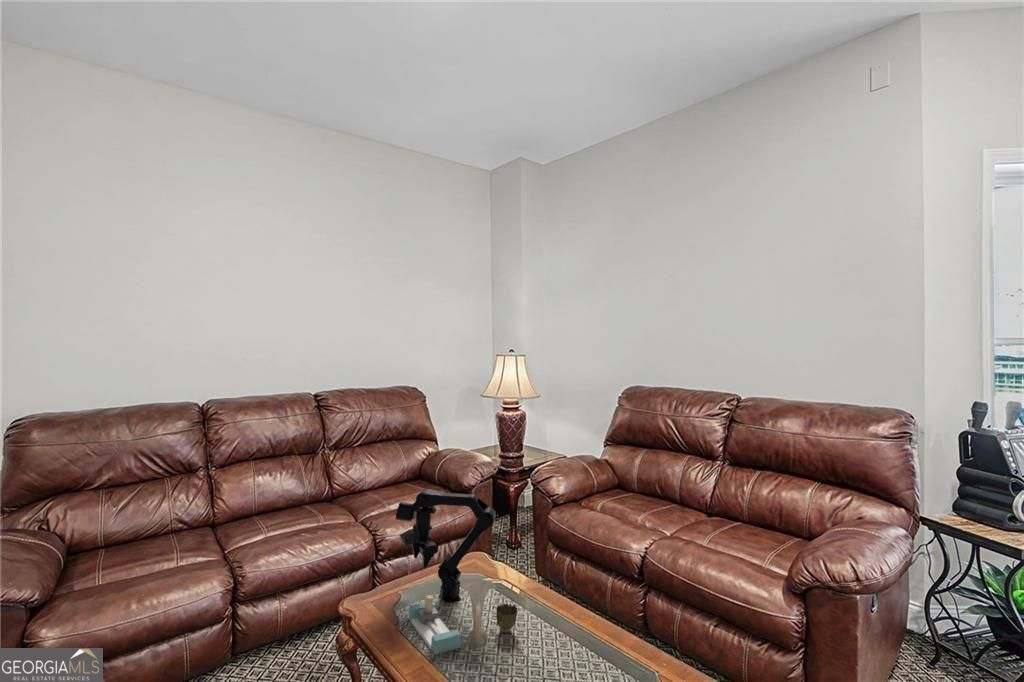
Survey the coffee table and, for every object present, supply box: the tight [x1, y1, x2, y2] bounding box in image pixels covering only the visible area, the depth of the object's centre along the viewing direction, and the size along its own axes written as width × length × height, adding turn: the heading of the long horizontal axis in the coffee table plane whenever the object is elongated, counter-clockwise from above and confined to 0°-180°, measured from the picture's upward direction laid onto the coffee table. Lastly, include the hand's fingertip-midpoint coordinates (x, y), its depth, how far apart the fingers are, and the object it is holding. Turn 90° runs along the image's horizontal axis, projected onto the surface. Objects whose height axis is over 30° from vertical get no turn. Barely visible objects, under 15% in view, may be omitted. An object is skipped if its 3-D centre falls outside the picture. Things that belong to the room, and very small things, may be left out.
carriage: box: [417, 594, 439, 624], centre depth 183 cm, size 6×4×8 cm
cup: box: [495, 603, 518, 634], centre depth 183 cm, size 8×7×8 cm
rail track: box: [407, 600, 462, 656], centre depth 179 cm, size 9×23×4 cm, turn 32°
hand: (420, 562), depth 203 cm, fingers open, 9 cm apart
